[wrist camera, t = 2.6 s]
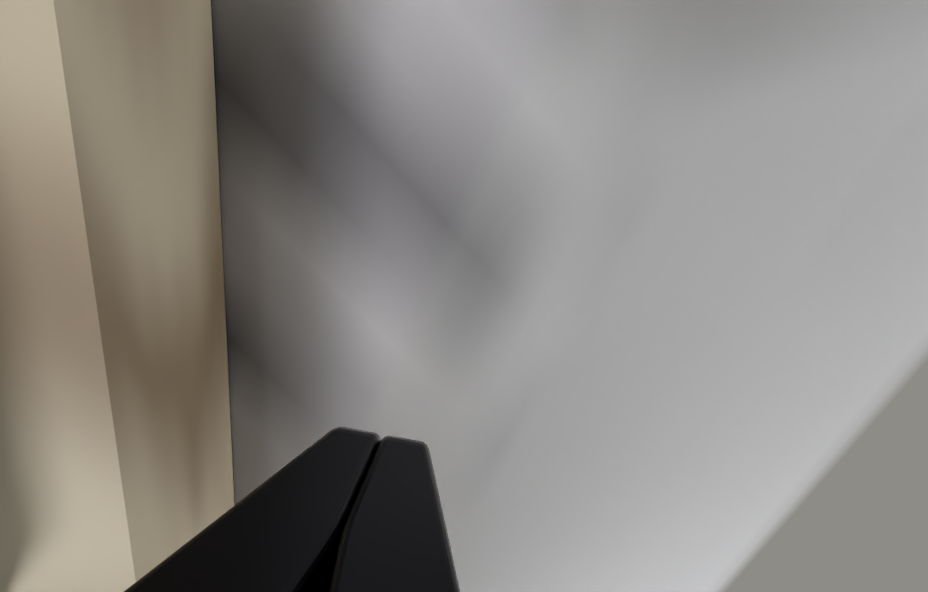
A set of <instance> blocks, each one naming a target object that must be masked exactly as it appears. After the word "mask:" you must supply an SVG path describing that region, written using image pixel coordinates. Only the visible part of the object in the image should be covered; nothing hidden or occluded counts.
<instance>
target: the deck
mask: <svg viewBox="0 0 928 592" xmlns="http://www.w3.org/2000/svg"><path fill="white" fill-rule="evenodd" d="M233 506H234V486H233V464H232V443H231V422H230V400H229V379H228V358H227V336H226V315H225V293H224V272H223V251H222V229H221V208H220V187H219V165H218V144H217V122H216V101H215V80H214V58H213V37H212V16H211V0H0V592H124V591H125V590H126V589H128V588H129V587H130V586H131V585H133V584H134V583H135V582H137V581H138V580H139V579H140V578H142V577H143V576H144V575H146V574H147V573H148V572H150V571H151V570H152V569H153V568H155V567H156V566H157V565H159V564H160V563H161V562H162V561H164V560H165V559H166V558H168V557H169V556H170V555H171V554H173V553H174V552H175V551H177V550H178V549H179V548H180V547H182V546H183V545H184V544H186V543H187V542H188V541H189V540H191V539H192V538H193V537H195V536H196V535H197V534H198V533H200V532H201V531H202V530H204V529H205V528H206V527H207V526H209V525H210V524H211V523H213V522H214V521H215V520H217V519H218V518H219V517H220V516H222V515H223V514H224V513H226V512H227V511H228V510H229V509H231V508H232V507H233Z"/></svg>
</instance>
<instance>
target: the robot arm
mask: <svg viewBox="0 0 928 592" xmlns="http://www.w3.org/2000/svg"><path fill="white" fill-rule="evenodd" d="M124 592H460V589H459V585H458V580H457V576H456V571H455V566H454V562H453V557H452V553H451V548H450V544H449V539H448V534H447V530H446V525H445V521H444V516H443V512H442V507H441V502H440V498H439V493H438V489H437V484H436V480H435V475H434V470H433V466H432V461H431V457H430V452H429V449H428V447H427V445H426V444H425V443H424V442H421V441H416V440H411V439H406V438H400V437H395V436H386V437H384V438H383V439H382V440H381V439H380V437H379V436H378V435H377V434H376V433H374V432H368V431H363V430H357V429H352V428H347V427H338V428H335V429H333V430H331V431H330V432H329V433H327V434H326V435H325V436H323V437H322V438H321V439H320V440H318V441H317V442H316V443H314V444H313V445H312V446H311V447H309V448H308V449H307V450H305V451H304V452H303V453H302V454H300V455H299V456H298V457H296V458H295V459H294V460H293V461H291V462H290V463H289V464H287V465H286V466H285V467H283V468H282V469H281V470H280V471H278V472H277V473H276V474H274V475H273V476H272V477H271V478H269V479H268V480H267V481H265V482H264V483H263V484H262V485H260V486H259V487H258V488H256V489H255V490H254V491H253V492H251V493H250V494H249V495H247V496H246V497H245V498H244V499H242V500H241V501H240V502H238V503H237V504H236V505H235V506H233V507H232V508H231V509H229V510H228V511H227V512H226V513H224V514H223V515H222V516H220V517H219V518H218V519H217V520H215V521H214V522H213V523H211V524H210V525H209V526H207V527H206V528H205V529H204V530H202V531H201V532H200V533H198V534H197V535H196V536H195V537H193V538H192V539H191V540H189V541H188V542H187V543H186V544H184V545H183V546H182V547H180V548H179V549H178V550H177V551H175V552H174V553H173V554H171V555H170V556H169V557H168V558H166V559H165V560H164V561H162V562H161V563H160V564H159V565H157V566H156V567H155V568H153V569H152V570H151V571H150V572H148V573H147V574H146V575H144V576H143V577H142V578H140V579H139V580H138V581H137V582H135V583H134V584H133V585H131V586H130V587H129V588H128V589H126V590H125V591H124Z"/></svg>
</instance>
